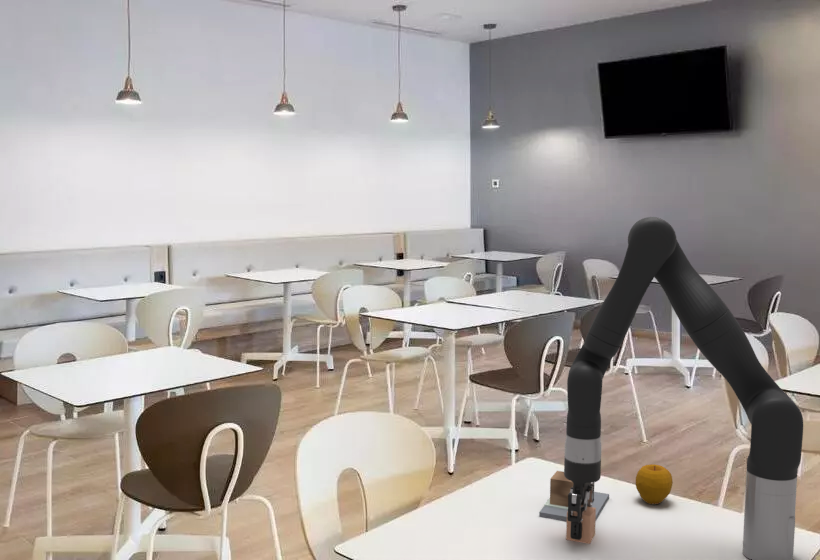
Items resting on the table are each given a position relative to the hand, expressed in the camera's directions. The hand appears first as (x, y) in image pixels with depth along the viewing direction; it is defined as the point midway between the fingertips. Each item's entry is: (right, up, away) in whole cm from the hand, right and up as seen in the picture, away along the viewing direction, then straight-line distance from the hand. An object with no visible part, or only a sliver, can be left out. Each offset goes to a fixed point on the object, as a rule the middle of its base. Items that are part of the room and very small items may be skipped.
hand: (580, 531), depth 171 cm
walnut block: (0, +2, +16) cm, 17 cm away
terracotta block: (0, -1, 0) cm, 1 cm away
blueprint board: (+2, +1, +17) cm, 17 cm away
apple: (+21, +1, +20) cm, 29 cm away
